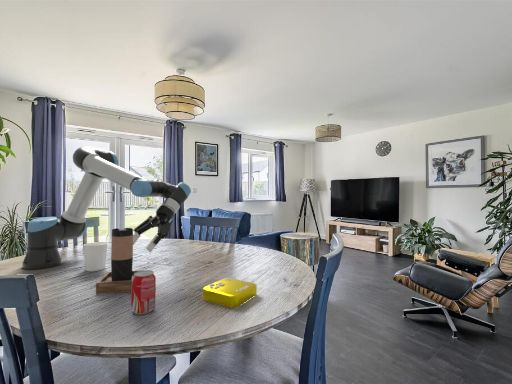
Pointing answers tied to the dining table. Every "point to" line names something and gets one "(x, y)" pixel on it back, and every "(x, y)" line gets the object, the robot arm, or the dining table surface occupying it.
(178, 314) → the dining table surface
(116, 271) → the travel mug
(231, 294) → the element tile
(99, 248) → the candle holder
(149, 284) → the soda can
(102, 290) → the tray
